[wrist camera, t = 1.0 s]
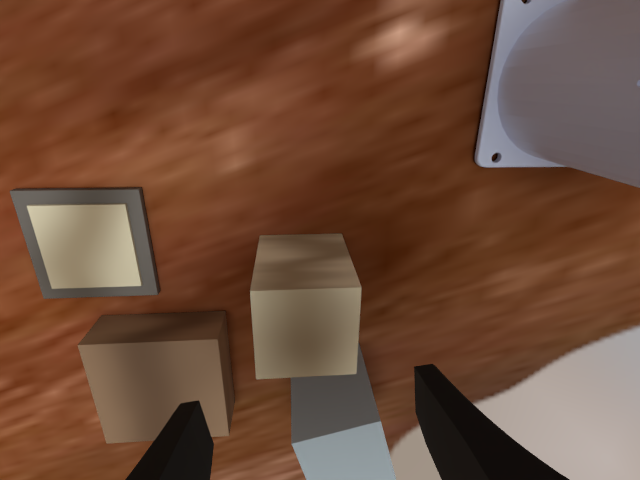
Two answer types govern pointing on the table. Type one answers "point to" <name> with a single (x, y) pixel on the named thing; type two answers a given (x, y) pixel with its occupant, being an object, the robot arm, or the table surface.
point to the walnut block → (158, 371)
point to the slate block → (339, 427)
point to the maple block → (304, 307)
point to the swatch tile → (88, 241)
